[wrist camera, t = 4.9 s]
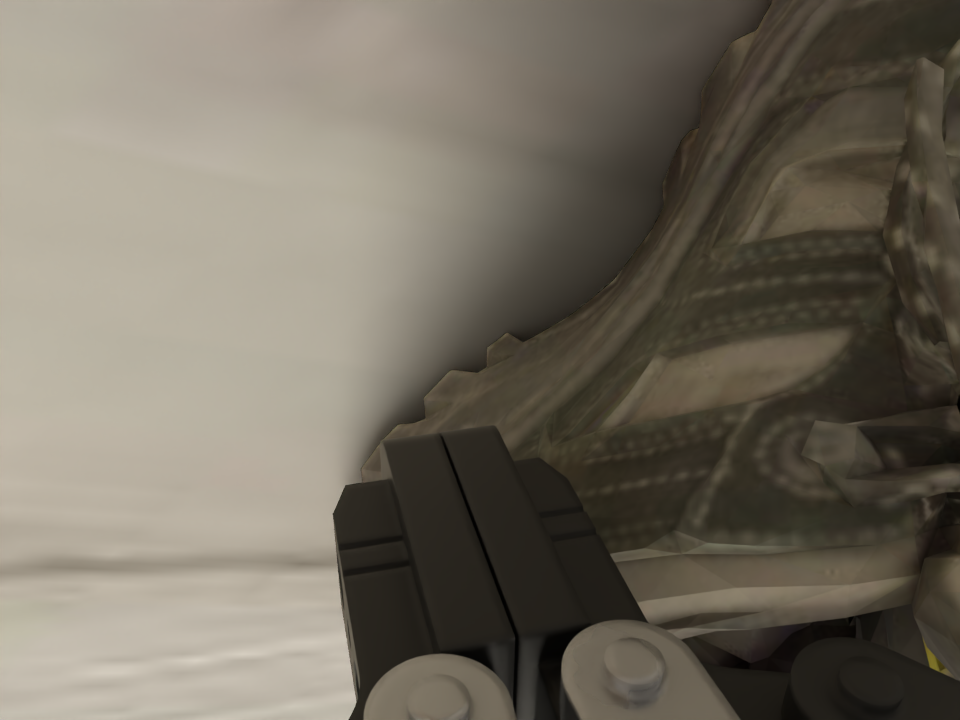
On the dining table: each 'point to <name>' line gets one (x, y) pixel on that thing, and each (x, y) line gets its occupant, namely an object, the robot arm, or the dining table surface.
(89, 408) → the dining table surface
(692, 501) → the hiking shoe
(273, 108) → the dining table surface
